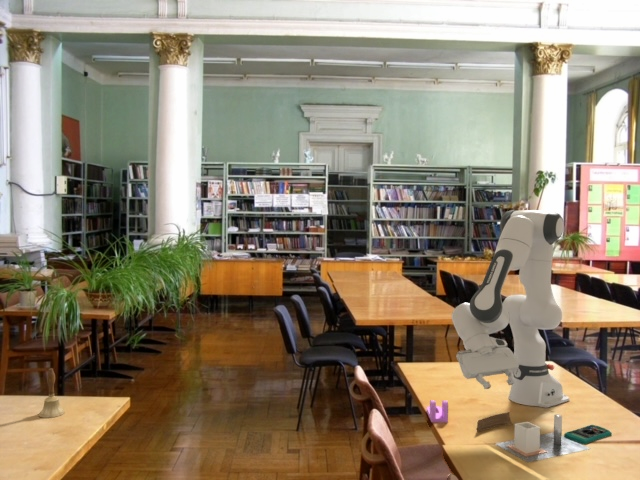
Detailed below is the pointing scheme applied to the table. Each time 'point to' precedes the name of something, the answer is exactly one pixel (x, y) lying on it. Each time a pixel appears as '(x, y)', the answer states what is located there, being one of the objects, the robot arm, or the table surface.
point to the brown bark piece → (494, 421)
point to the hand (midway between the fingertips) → (500, 386)
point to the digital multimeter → (588, 434)
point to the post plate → (547, 445)
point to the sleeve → (527, 437)
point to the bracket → (442, 411)
